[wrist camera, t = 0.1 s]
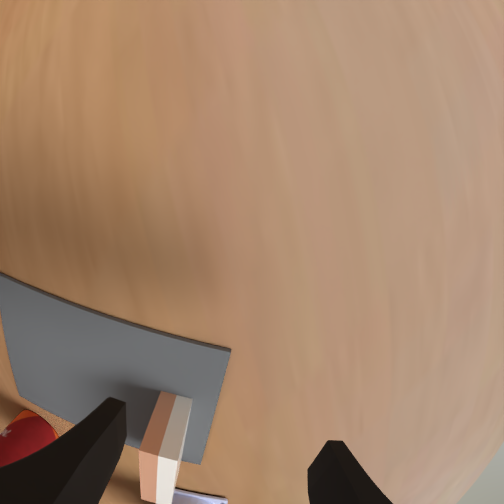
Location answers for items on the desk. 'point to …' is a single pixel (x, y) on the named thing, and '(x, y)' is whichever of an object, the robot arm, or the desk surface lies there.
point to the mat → (106, 364)
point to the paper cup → (25, 437)
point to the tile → (163, 448)
